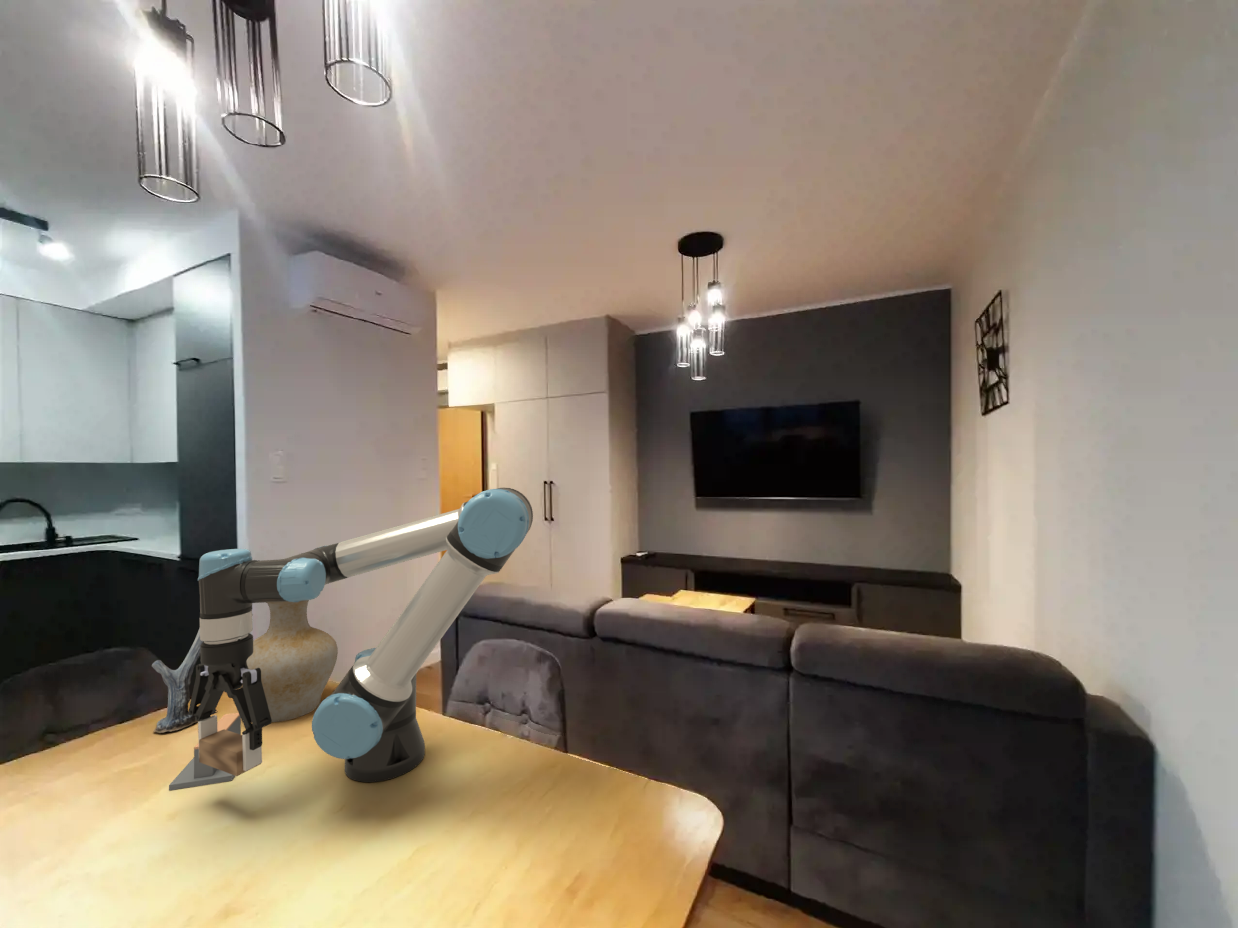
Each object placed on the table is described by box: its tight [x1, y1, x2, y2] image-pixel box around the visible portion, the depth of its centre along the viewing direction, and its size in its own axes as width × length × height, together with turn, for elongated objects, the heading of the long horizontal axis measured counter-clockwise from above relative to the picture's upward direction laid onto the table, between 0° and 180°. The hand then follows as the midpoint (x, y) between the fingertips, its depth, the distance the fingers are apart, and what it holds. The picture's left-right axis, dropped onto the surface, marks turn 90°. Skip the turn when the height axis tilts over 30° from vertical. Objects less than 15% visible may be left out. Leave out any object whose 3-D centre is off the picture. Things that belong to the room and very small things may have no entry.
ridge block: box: [168, 712, 242, 791], centre depth 106 cm, size 10×16×7 cm, turn 18°
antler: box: [151, 627, 204, 734], centre depth 123 cm, size 12×8×25 cm
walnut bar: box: [198, 729, 262, 777], centre depth 92 cm, size 11×4×4 cm, turn 66°
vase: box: [239, 600, 339, 723], centre depth 130 cm, size 22×22×30 cm
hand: (230, 760), depth 92 cm, fingers closed on walnut bar, 11 cm apart
